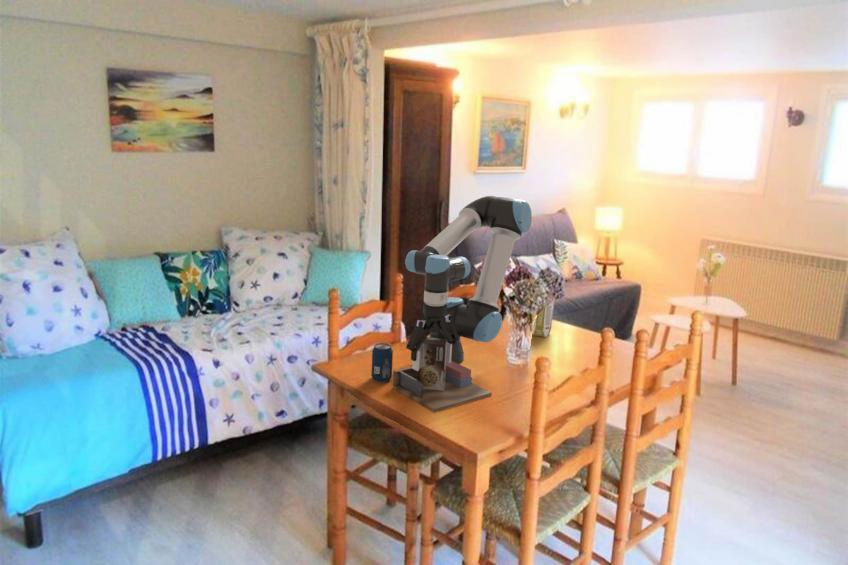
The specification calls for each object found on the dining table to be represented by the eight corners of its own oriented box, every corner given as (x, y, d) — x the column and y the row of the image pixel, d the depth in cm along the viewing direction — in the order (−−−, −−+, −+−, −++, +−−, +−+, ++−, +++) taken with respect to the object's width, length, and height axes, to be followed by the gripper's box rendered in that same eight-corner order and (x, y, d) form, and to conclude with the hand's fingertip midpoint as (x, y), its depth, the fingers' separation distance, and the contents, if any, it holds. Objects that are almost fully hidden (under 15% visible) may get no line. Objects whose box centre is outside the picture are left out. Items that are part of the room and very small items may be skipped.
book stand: (392, 387, 210) (393, 370, 208) (447, 373, 224) (448, 357, 223) (434, 412, 193) (435, 394, 191) (491, 395, 208) (492, 378, 206)
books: (437, 375, 219) (438, 362, 218) (448, 372, 222) (449, 359, 221) (460, 387, 210) (461, 373, 209) (471, 384, 213) (472, 370, 212)
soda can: (378, 373, 221) (379, 341, 218) (395, 378, 218) (396, 345, 215) (367, 380, 215) (368, 346, 212) (384, 384, 212) (386, 350, 209)
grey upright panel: (398, 385, 209) (398, 371, 208) (400, 385, 209) (400, 371, 208) (420, 398, 200) (421, 383, 199) (422, 397, 200) (423, 383, 199)
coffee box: (445, 384, 212) (448, 338, 209) (443, 391, 206) (446, 344, 202) (418, 381, 213) (420, 335, 210) (415, 388, 207) (418, 342, 203)
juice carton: (551, 333, 277) (556, 291, 272) (547, 338, 269) (551, 295, 265) (534, 330, 280) (538, 288, 275) (529, 335, 272) (533, 292, 268)
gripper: (411, 311, 193) (408, 376, 198) (471, 301, 208) (467, 362, 213) (397, 305, 198) (394, 369, 203) (456, 296, 213) (453, 355, 218)
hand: (431, 365), depth 208 cm, fingers open, 13 cm apart
